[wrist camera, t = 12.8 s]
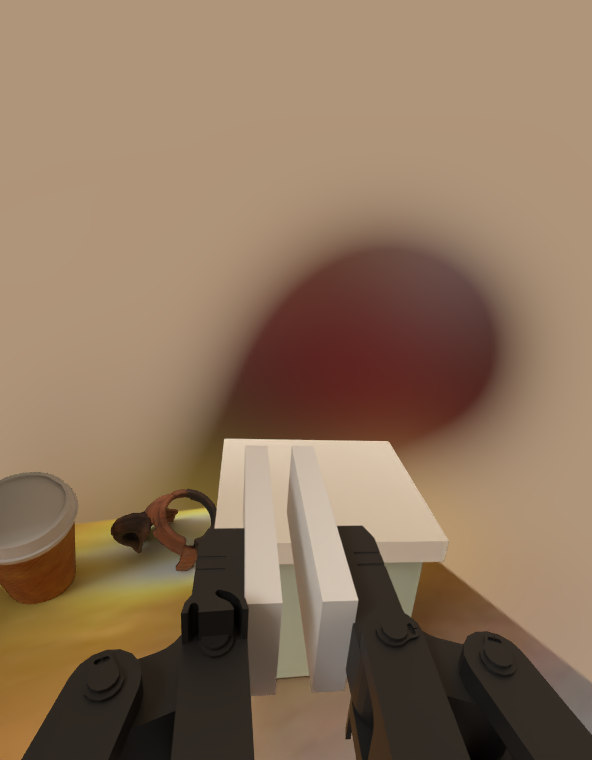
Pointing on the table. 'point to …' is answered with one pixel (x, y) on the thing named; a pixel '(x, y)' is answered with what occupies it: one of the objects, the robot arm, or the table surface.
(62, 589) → the disposable coffee cup
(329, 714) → the table surface
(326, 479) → the stool
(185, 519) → the table surface
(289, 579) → the panel
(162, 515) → the brown curved piece
